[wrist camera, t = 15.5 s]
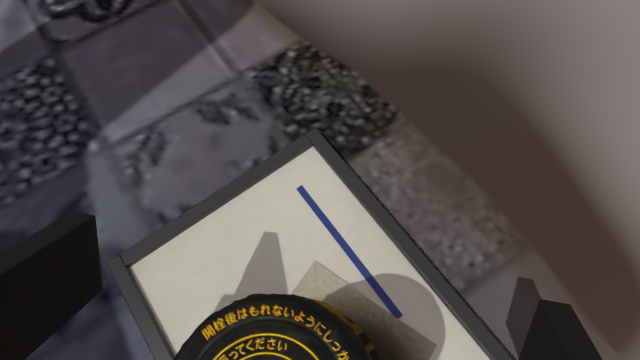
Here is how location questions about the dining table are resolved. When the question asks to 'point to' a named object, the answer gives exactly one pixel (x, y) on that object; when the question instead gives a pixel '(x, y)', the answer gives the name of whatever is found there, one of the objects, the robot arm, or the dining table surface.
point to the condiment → (306, 327)
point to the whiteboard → (290, 255)
